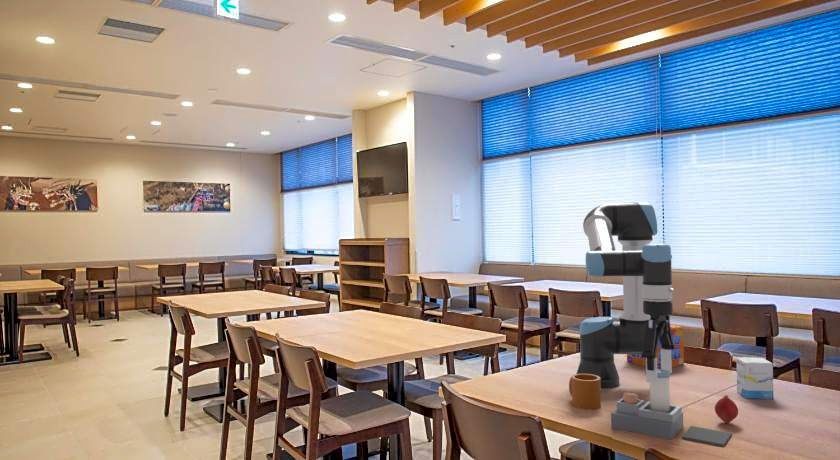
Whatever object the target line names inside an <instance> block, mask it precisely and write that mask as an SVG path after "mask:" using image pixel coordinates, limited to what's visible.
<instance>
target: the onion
mask: <svg viewBox="0 0 840 460" xmlns="http://www.w3.org/2000/svg"><path fill="white" fill-rule="evenodd" d="M714 411H715V414H716V416H717V417H718V418H719V419H720V420H721V421H722V422H724V423H725V424H730V423H731V422H732V421H734V420H735V419H736V418H737V416H738V415H739V408H738V406H737V405H736V403H735V402H734V400H732V399H731V398H729V394H726V395H724V396H723V397H721V398H720V399H718V401H717V402H716V403H715V406H714Z"/></svg>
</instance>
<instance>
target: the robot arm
mask: <svg viewBox="0 0 840 460" xmlns="http://www.w3.org/2000/svg"><path fill="white" fill-rule="evenodd" d="M582 225H583V226H582V227H583V232H584V234H585V236H586V237H587V239H588V246H589V251H587V252H586V253H585V273H586V274H587V276H588V277H600V278H601V277H622V289H623V295H622V296H623V297H622V298H623V299H622V300H623V301H622V302H623V312H622V313H621V314H620V315H619V317H618V319H619V320H618V321H617V320H614V318H613V317H611V316H597V317H590V318H585V319H584V320H582V321H581V322H580V324H579V333H578V335H579V343H580V344H579V345H580V346H579V351H580V352H579V355H580V356H579V358H580V360H579V362H578V363H579V365H578V366H577V370H576V373H575V374H592V375H597V376H599V377H600V378H601V389H602V388H613V387H617V386H619V385H620V375H619V373H618V369H617V367H616V364H615V359H614V358H615V356H614V355H627V354H633V355H642V357H645V358H646V366H645V380H646V383H650V382H652V383H658V377H657V358H655V357H656V352H657V347H658V342H659V340H660V343H661V346H662V348H664V349H661V368H660V369H661V370H667V371H669V372H670V374H672V372H673V370H672V367H673V366H672V360H671V350H670V349H674V346H673V344H674V343H673V338H672V333H671V327H670V325H671V322H670V316H671V315H672V314H673V311H674V310H673V307H674V306H673V301H672V299H673V293H674V291H675V289H674V288H673V283H672V281H673V279H672V259H673V255H672V250H671V249H672V247H671V246H670V245H669V244H667V243H666V244H665V243H654V244H653V243H652V241H653V236H656V235H657V234H658V220H657V216H656V212H655V208H654V206H653V205H652V204H651V203H650V202H640V201H637V202H616V203H614V202H612V203H604V204H600V205H598V206H595V207H594V208H593V209H592V210H590V211H589V212H588V213H587V214H586V216H585V217H584V220H583V222H582ZM613 236H614V237H615V236H617V242H619V244H620V245H621V247H622V250H616V245H615V243H614V239H613ZM650 243H652V244H650Z"/></svg>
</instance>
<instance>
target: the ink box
mask: <svg viewBox="0 0 840 460" xmlns="http://www.w3.org/2000/svg"><path fill="white" fill-rule="evenodd" d="M735 360H736V392H738V393H739V394H740V395H741V396H742V397H744V398H745V399H759V400H760V399H766V400H767V399H768V400H769V399H771V400H774V395H775V394H774V369H773V368H774V367H773V364H774V363H773V362H771V361H769V360H767V359H766V358H763V357H749V356H747V357H745V356H743V357H736V359H735Z"/></svg>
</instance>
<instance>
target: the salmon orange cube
mask: <svg viewBox="0 0 840 460" xmlns="http://www.w3.org/2000/svg"><path fill="white" fill-rule="evenodd" d="M623 397H624V403H630V404H637V399H638V394H637V393H635V392H623Z"/></svg>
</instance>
